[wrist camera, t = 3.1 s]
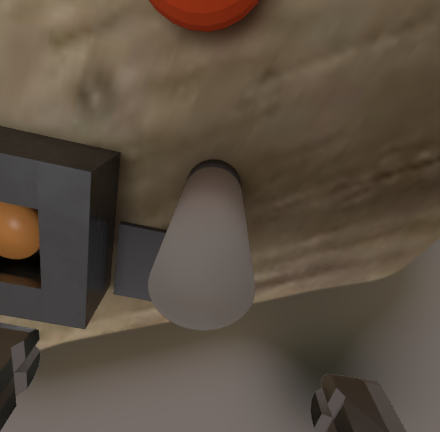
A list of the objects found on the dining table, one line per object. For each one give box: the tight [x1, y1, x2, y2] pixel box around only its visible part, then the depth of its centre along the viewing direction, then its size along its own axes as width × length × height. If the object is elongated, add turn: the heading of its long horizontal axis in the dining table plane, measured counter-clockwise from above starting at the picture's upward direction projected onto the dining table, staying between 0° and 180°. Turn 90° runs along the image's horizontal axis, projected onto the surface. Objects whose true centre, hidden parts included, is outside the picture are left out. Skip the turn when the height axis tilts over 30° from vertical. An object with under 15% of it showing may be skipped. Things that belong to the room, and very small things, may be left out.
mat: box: [114, 222, 167, 301], centre depth 25 cm, size 7×7×1 cm
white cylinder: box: [148, 159, 255, 330], centre depth 16 cm, size 4×4×12 cm
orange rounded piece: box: [0, 202, 40, 259], centre depth 20 cm, size 4×4×2 cm
